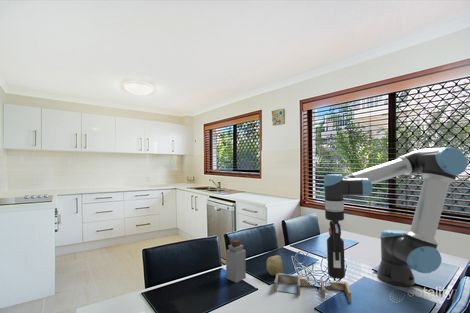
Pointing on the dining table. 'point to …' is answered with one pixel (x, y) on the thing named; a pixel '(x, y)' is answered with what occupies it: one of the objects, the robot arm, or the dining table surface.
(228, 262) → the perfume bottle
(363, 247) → the dining table surface
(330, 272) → the vinegar
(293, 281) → the comb rack
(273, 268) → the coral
